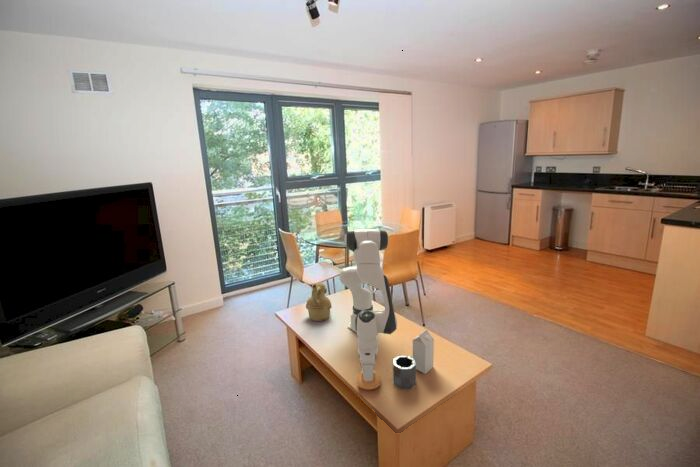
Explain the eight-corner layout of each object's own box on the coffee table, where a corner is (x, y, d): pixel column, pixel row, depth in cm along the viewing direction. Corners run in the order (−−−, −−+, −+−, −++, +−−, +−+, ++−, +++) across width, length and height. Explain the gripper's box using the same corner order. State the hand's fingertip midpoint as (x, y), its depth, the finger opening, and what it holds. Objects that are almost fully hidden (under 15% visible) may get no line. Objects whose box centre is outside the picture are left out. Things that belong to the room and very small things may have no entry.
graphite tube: (392, 374, 148) (392, 355, 145) (413, 374, 147) (413, 355, 145) (394, 389, 138) (394, 369, 136) (416, 389, 137) (416, 369, 135)
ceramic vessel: (334, 310, 214) (332, 275, 208) (328, 325, 195) (326, 287, 190) (310, 309, 217) (307, 275, 211) (302, 324, 198) (299, 286, 192)
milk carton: (412, 367, 152) (412, 332, 147) (420, 361, 157) (421, 326, 152) (425, 374, 147) (425, 337, 142) (433, 367, 152) (434, 331, 147)
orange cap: (356, 376, 147) (356, 363, 146) (380, 376, 147) (380, 363, 145) (356, 393, 137) (355, 379, 135) (381, 393, 136) (381, 379, 134)
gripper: (360, 335, 148) (361, 361, 151) (359, 362, 128) (361, 392, 131) (374, 335, 147) (375, 361, 150) (375, 362, 127) (376, 392, 131)
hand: (368, 376), depth 141 cm, fingers closed on orange cap, 2 cm apart
